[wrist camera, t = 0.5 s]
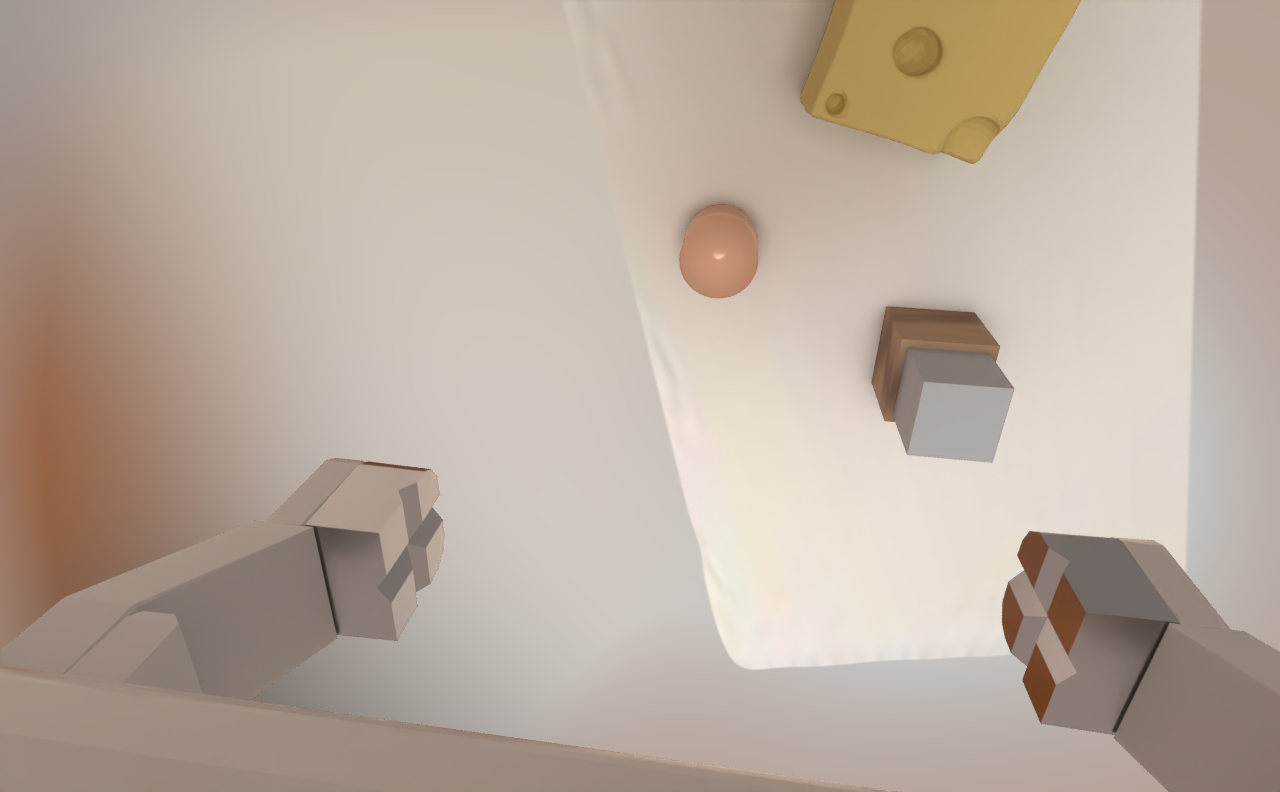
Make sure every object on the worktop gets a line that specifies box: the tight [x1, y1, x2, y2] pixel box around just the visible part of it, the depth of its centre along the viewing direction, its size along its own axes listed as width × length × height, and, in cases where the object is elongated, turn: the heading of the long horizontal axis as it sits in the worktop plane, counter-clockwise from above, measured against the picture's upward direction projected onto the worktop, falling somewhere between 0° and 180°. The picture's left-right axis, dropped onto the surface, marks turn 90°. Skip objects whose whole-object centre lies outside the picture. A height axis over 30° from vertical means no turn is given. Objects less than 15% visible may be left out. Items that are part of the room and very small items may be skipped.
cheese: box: [800, 0, 1081, 164], centre depth 39 cm, size 10×11×10 cm
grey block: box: [893, 347, 1014, 463], centre depth 45 cm, size 5×5×5 cm
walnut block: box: [872, 306, 1000, 422], centre depth 50 cm, size 6×6×6 cm
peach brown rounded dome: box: [679, 204, 758, 298], centre depth 49 cm, size 5×5×5 cm
